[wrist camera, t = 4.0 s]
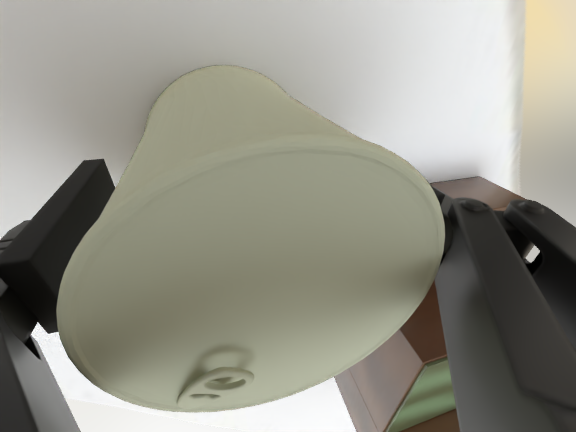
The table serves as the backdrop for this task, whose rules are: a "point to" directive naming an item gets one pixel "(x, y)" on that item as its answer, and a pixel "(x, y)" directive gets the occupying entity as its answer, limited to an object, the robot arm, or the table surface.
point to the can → (245, 252)
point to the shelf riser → (413, 356)
